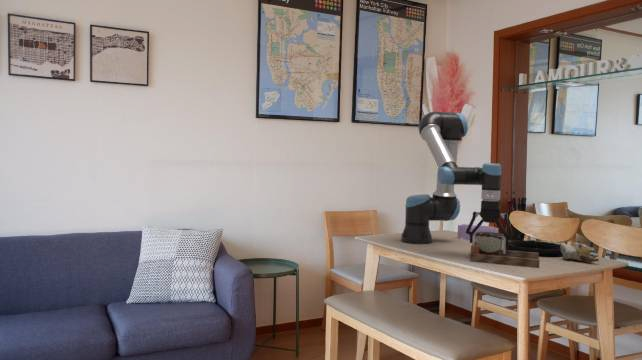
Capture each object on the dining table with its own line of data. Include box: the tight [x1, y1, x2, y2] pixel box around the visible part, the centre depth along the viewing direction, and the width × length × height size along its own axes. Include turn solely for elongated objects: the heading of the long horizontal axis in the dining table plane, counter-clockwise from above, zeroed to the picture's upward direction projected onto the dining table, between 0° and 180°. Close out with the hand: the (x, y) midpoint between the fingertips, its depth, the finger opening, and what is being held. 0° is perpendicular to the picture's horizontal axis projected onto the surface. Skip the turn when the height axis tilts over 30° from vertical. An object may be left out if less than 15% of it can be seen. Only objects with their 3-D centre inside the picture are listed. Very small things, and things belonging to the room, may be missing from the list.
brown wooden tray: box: [469, 241, 540, 268], centre depth 215 cm, size 26×17×6 cm
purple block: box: [457, 223, 499, 241], centre depth 273 cm, size 20×12×7 cm, turn 48°
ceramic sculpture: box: [559, 240, 600, 263], centre depth 219 cm, size 11×9×15 cm
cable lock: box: [506, 239, 563, 258], centre depth 239 cm, size 28×4×30 cm
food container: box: [475, 232, 505, 256], centre depth 217 cm, size 12×6×10 cm, turn 48°
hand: (488, 252), depth 218 cm, fingers closed on food container, 12 cm apart
